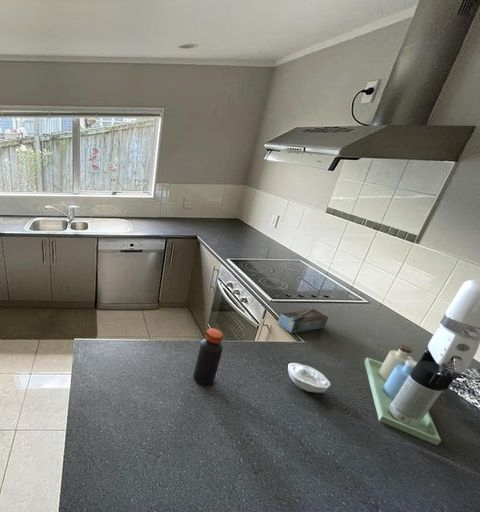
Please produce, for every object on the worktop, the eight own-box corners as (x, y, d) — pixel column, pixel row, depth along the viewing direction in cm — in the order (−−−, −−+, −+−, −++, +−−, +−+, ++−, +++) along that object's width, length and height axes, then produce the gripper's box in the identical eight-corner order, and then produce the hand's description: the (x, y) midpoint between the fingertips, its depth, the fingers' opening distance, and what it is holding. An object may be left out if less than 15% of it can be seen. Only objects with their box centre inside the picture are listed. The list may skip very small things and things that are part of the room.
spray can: (424, 428, 83) (461, 377, 75) (401, 427, 83) (436, 376, 75) (402, 408, 89) (434, 359, 81) (381, 407, 89) (410, 358, 81)
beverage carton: (276, 323, 130) (280, 311, 128) (309, 318, 135) (313, 307, 132) (290, 333, 123) (295, 321, 121) (325, 329, 127) (330, 316, 125)
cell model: (323, 405, 90) (331, 390, 87) (280, 384, 97) (286, 369, 94) (326, 386, 97) (334, 372, 94) (286, 368, 104) (292, 354, 101)
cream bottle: (398, 376, 101) (416, 346, 96) (402, 387, 97) (421, 356, 92) (376, 368, 105) (392, 339, 99) (379, 378, 100) (396, 348, 95)
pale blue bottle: (404, 393, 95) (424, 362, 89) (409, 405, 90) (430, 373, 85) (380, 384, 98) (398, 353, 92) (384, 395, 93) (403, 364, 88)
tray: (407, 377, 102) (410, 372, 101) (436, 446, 78) (441, 440, 77) (363, 362, 108) (366, 357, 107) (378, 422, 85) (381, 416, 84)
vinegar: (196, 368, 102) (206, 323, 94) (215, 377, 98) (228, 331, 91) (190, 380, 97) (201, 334, 89) (210, 390, 93) (223, 342, 86)
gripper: (503, 350, 64) (463, 403, 71) (471, 315, 77) (440, 363, 84) (454, 337, 68) (421, 389, 75) (431, 306, 81) (405, 352, 88)
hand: (431, 375), depth 79 cm, fingers open, 9 cm apart
